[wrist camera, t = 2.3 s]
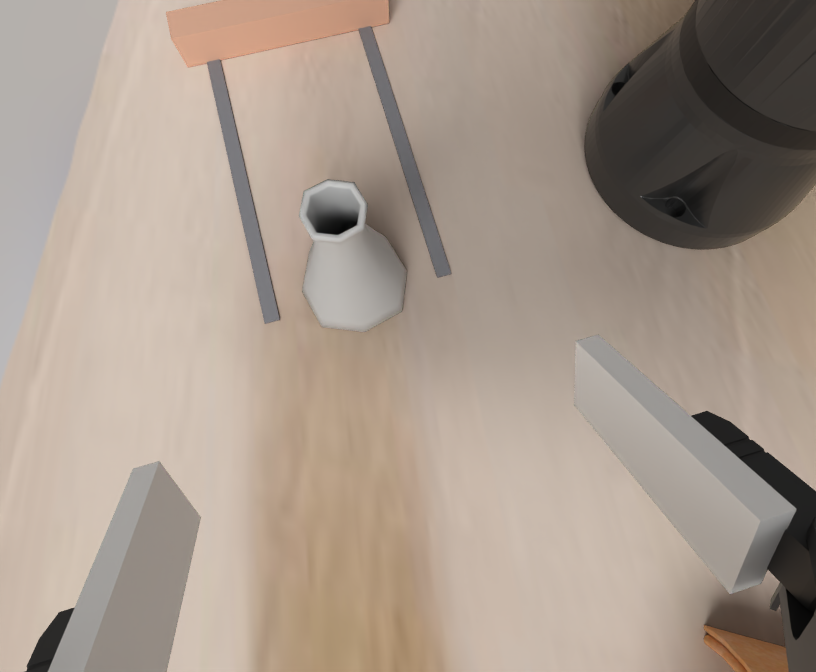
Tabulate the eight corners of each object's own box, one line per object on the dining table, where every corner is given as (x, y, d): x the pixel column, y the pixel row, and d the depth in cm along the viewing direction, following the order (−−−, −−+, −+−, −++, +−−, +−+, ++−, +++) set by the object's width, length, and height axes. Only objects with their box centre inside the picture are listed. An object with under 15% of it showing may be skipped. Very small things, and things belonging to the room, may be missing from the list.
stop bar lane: (381, -1, 35) (379, -33, 33) (471, 268, 30) (478, 253, 28) (182, 42, 34) (165, 11, 32) (242, 329, 29) (228, 319, 27)
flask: (417, 322, 29) (425, 266, 20) (311, 343, 29) (265, 296, 19) (396, 225, 31) (394, 129, 21) (295, 244, 31) (245, 154, 21)
